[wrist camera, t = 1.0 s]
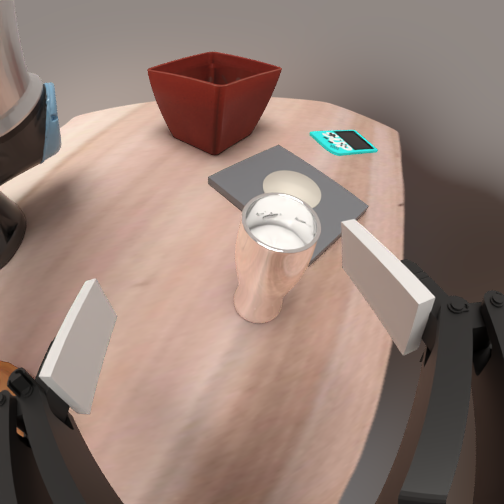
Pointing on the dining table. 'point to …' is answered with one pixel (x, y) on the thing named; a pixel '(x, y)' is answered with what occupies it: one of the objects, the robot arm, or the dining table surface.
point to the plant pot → (213, 97)
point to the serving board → (291, 189)
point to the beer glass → (272, 252)
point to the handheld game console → (343, 142)
